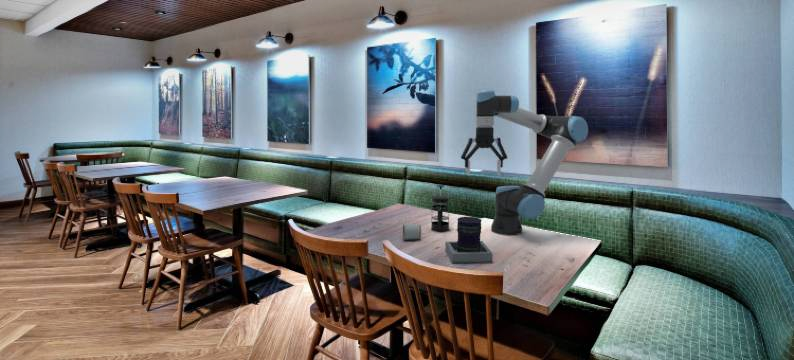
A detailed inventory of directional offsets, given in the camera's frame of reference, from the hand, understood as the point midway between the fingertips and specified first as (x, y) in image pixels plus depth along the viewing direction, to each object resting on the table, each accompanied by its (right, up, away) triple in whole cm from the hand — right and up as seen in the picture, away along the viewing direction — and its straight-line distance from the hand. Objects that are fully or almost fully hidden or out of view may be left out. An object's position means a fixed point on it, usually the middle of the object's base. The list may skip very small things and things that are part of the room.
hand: (483, 175), depth 184 cm
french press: (-16, -28, +29) cm, 43 cm away
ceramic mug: (-32, -30, +14) cm, 46 cm away
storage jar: (-9, -33, -12) cm, 36 cm away
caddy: (-9, -34, -11) cm, 37 cm away
